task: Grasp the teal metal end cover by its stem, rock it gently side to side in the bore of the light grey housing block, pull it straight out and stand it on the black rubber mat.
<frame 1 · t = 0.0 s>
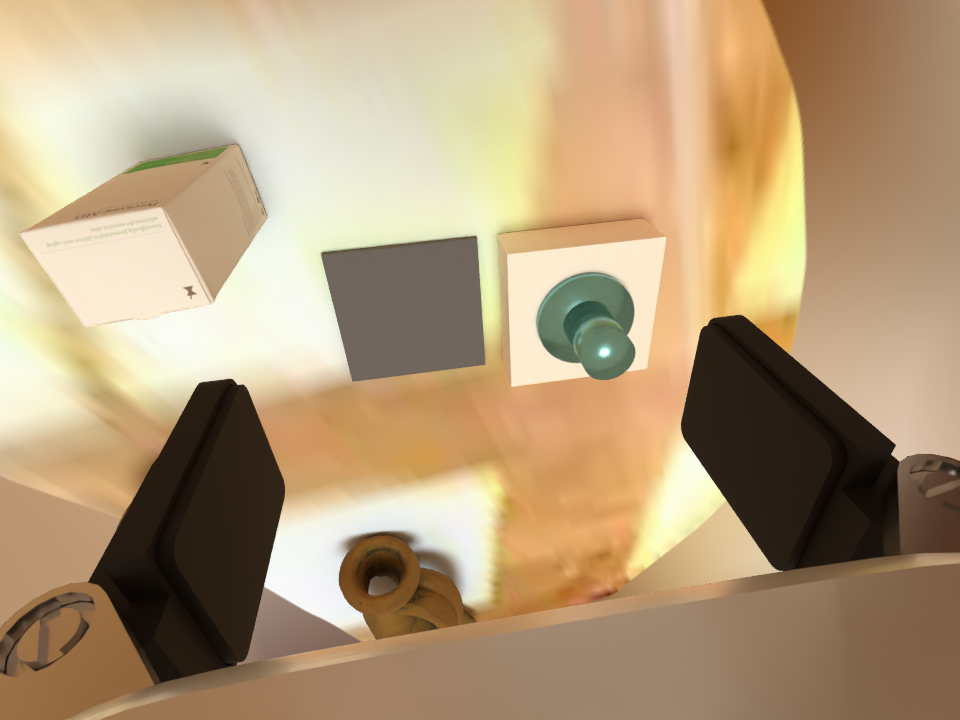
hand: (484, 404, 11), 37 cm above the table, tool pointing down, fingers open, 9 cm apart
housing: (568, 293, 52), on the table
brown looped sculpture: (416, 578, 75), on the table
end cover: (569, 294, 51), resting in housing
mat: (410, 312, 50), on the table
skincare box: (206, 193, 42), on the table
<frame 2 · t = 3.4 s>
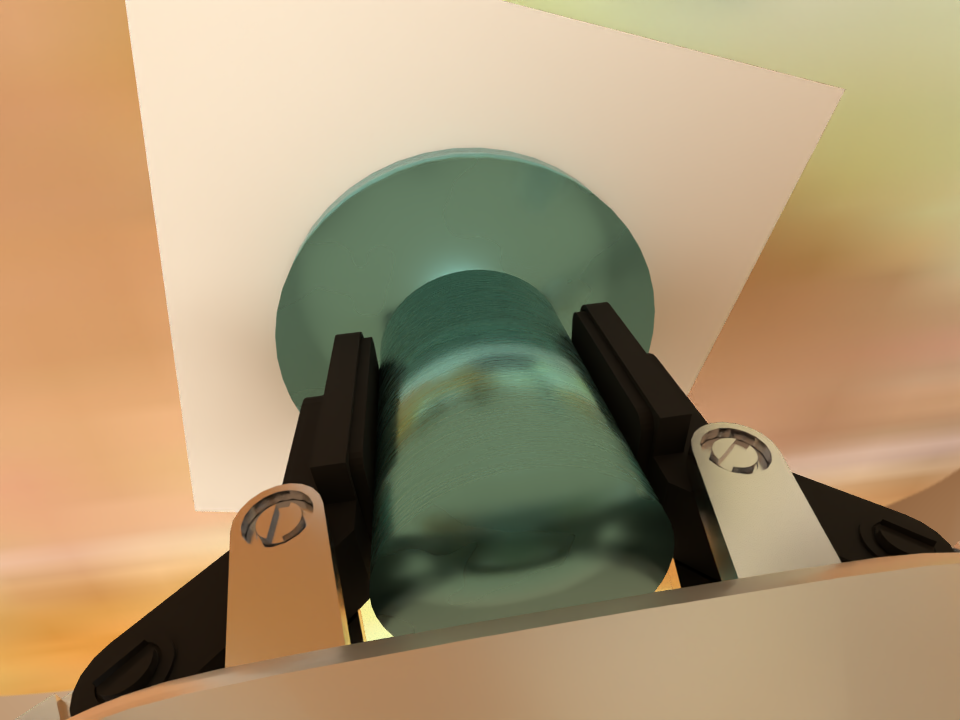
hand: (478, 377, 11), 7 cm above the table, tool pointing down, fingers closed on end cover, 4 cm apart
housing: (451, 258, 17), on the table
end cover: (451, 262, 17), resting in housing, touching gripper
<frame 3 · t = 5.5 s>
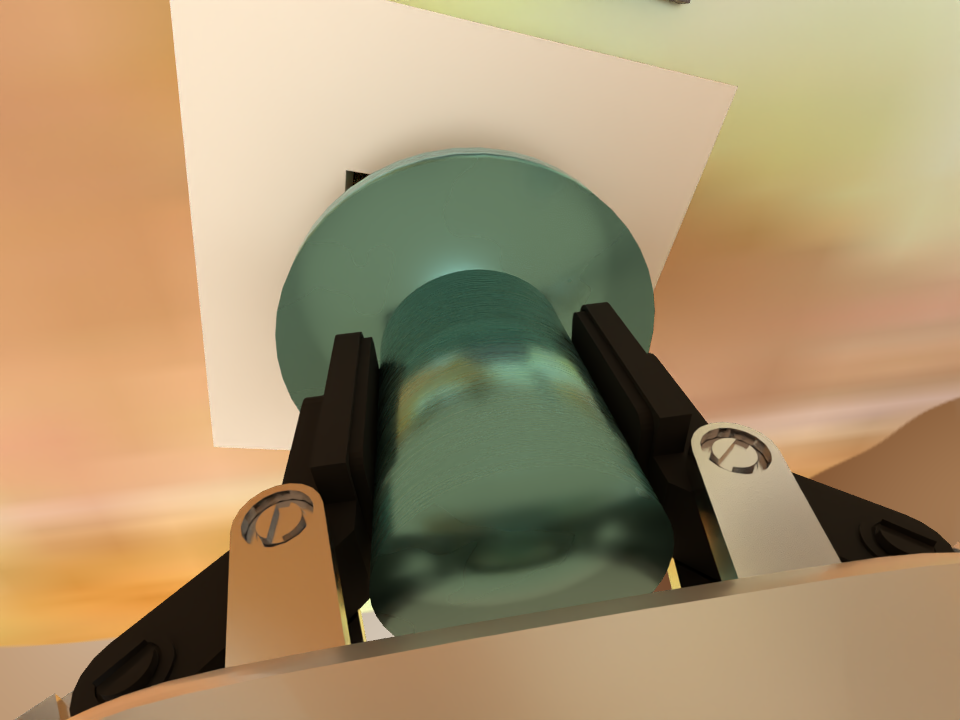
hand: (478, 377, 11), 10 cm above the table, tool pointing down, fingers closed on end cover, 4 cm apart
housing: (431, 234, 20), on the table
end cover: (451, 262, 17), point 4 cm above the table, touching gripper
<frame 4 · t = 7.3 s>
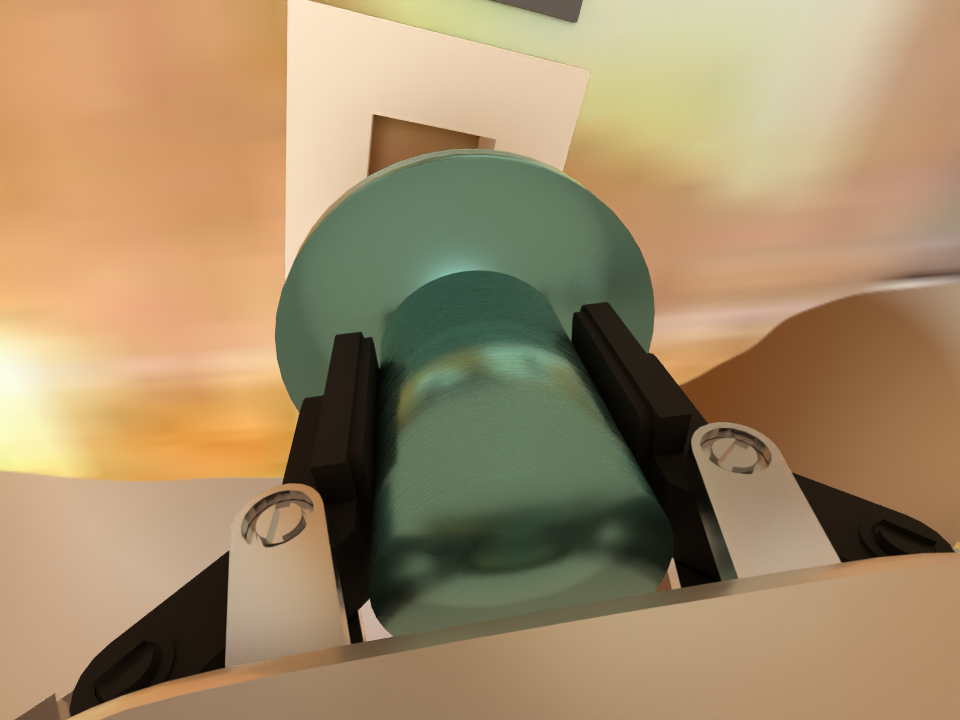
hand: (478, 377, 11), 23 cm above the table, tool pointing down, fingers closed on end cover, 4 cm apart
housing: (422, 167, 31), on the table
end cover: (451, 262, 17), point 17 cm above the table, touching gripper
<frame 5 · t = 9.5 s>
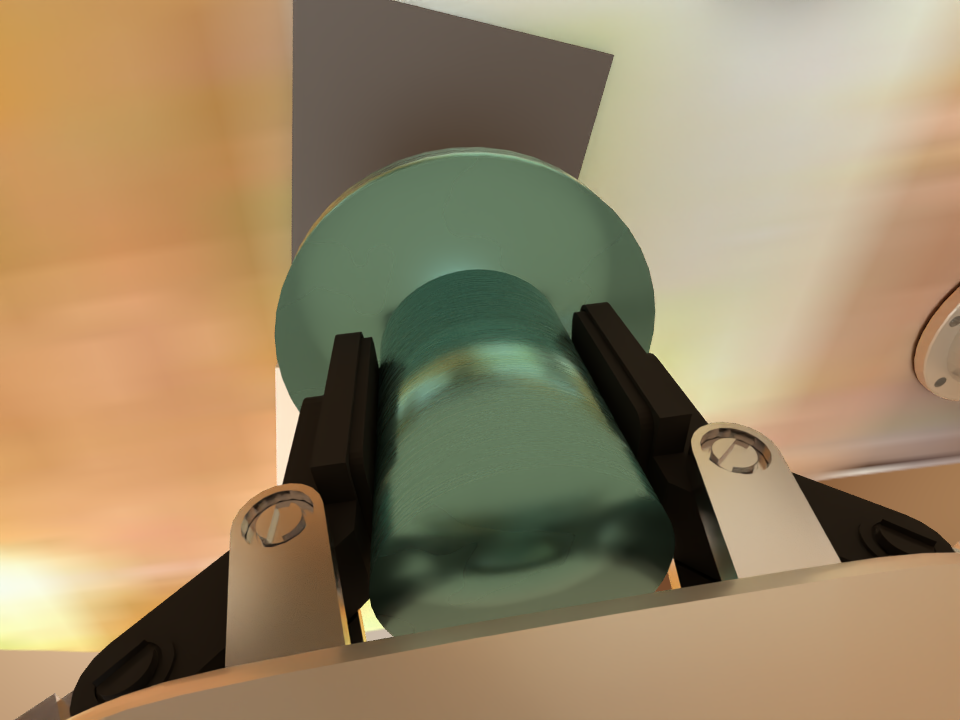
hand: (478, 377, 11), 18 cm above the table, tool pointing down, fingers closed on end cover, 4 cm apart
housing: (401, 421, 34), on the table
end cover: (451, 261, 17), point 11 cm above the table, touching gripper
mat: (438, 180, 26), on the table
when the fingers open (9 cm above the table, at t = 11.4 s): end cover drops 1 cm, resting on mat.
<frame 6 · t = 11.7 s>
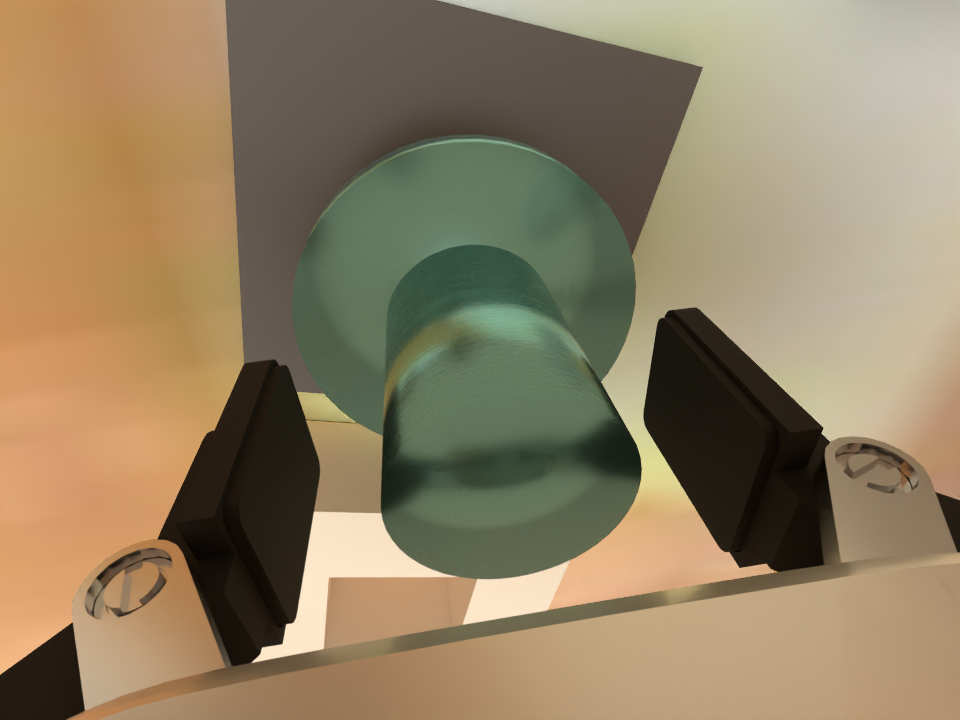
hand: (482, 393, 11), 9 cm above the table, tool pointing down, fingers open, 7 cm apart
housing: (397, 527, 27), on the table
end cover: (451, 246, 18), point 1 cm above the table, touching mat
mat: (446, 239, 19), on the table
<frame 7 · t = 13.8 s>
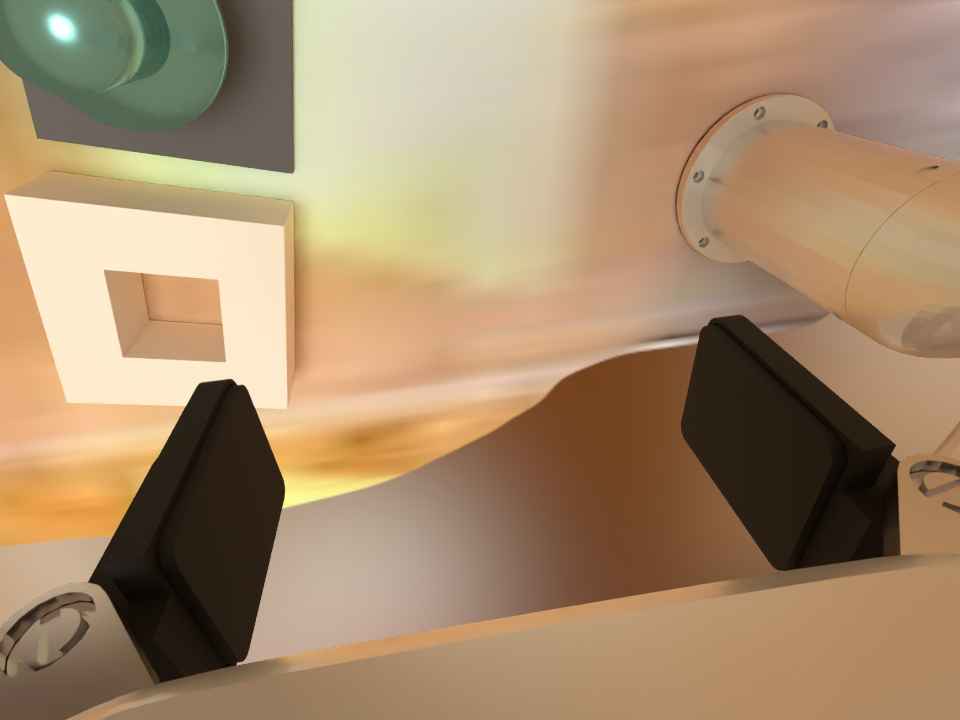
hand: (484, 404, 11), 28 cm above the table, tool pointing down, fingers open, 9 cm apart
housing: (191, 285, 37), on the table
end cover: (157, 23, 28), point 1 cm above the table, touching mat
mat: (158, 22, 28), on the table
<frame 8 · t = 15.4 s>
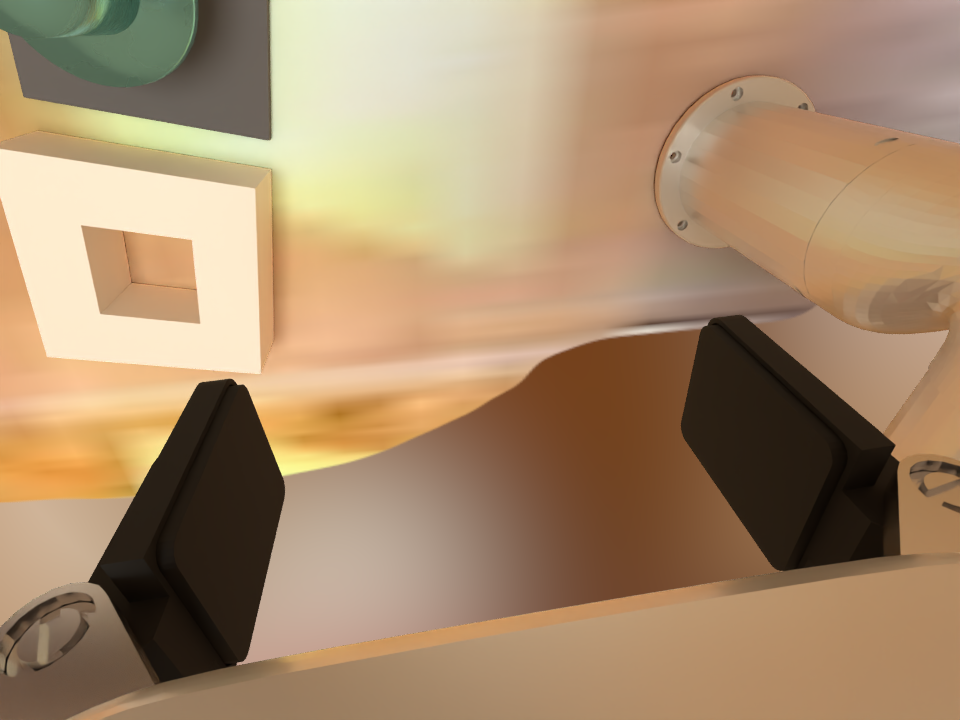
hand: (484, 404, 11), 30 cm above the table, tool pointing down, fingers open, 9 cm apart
housing: (172, 249, 38), on the table
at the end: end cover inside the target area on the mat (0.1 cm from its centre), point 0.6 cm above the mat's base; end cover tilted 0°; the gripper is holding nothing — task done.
